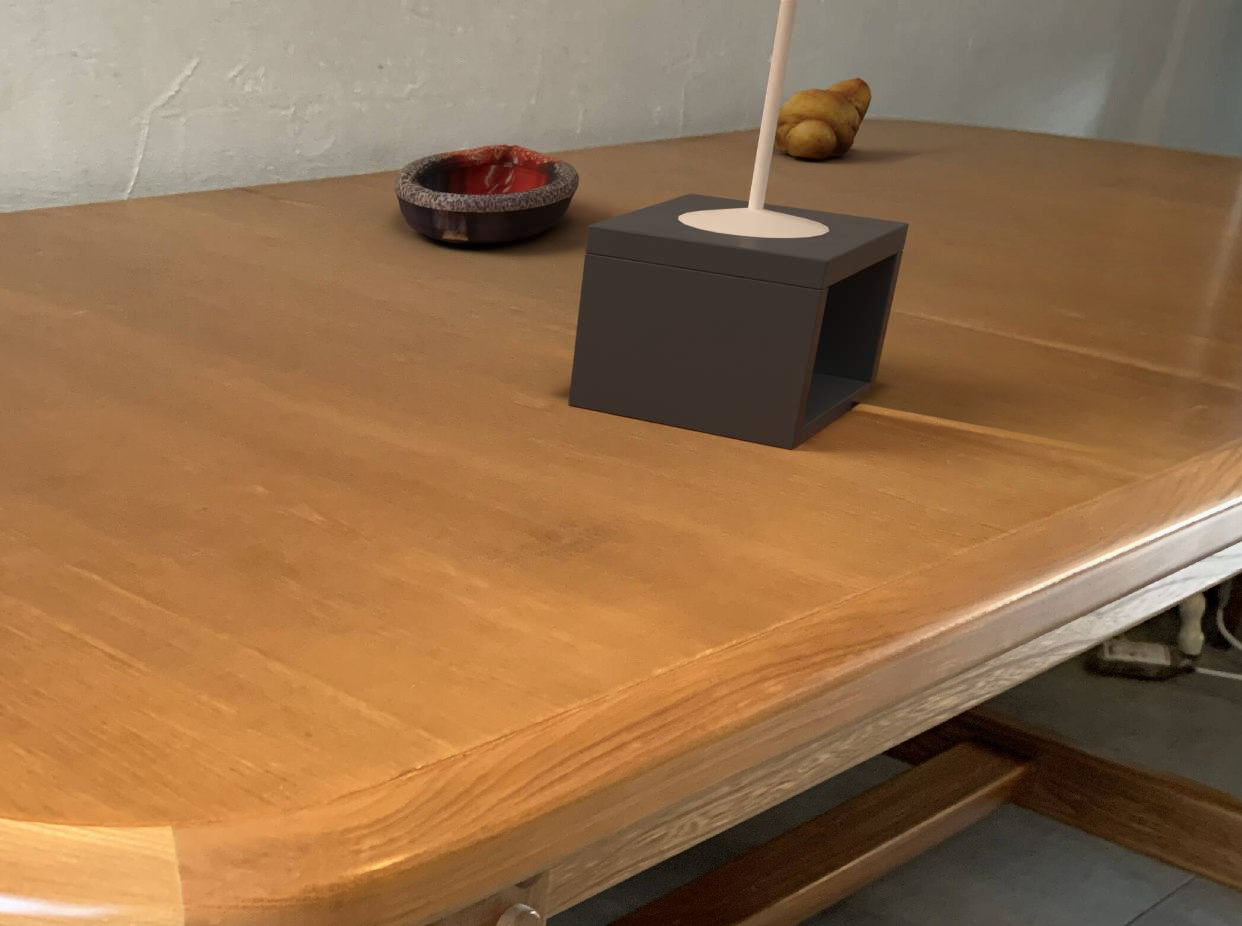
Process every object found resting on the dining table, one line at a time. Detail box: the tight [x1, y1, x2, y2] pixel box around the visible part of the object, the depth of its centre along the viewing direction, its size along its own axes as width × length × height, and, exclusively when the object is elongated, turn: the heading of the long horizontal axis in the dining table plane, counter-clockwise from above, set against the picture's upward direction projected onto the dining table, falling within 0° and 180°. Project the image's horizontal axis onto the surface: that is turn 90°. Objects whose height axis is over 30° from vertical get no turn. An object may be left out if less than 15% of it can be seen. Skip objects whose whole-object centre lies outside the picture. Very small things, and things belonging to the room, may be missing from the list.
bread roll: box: [774, 76, 872, 160], centre depth 191 cm, size 13×10×8 cm
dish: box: [393, 144, 580, 245], centre depth 148 cm, size 16×31×5 cm, turn 164°
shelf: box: [568, 193, 910, 450], centre depth 100 cm, size 14×15×10 cm
